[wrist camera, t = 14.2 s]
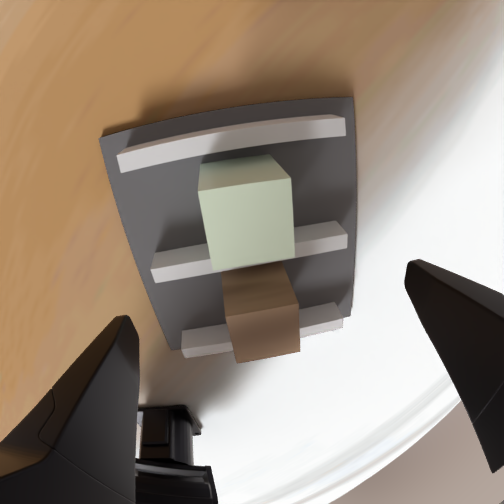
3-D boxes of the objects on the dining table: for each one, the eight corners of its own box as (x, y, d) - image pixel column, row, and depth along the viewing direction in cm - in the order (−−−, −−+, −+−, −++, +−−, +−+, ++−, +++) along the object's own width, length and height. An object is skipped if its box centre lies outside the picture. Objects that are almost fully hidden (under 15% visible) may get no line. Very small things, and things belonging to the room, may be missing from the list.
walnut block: (283, 302, 23) (300, 351, 19) (230, 312, 23) (236, 363, 18) (279, 256, 21) (298, 303, 17) (220, 266, 21) (225, 317, 16)
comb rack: (348, 312, 25) (359, 332, 23) (171, 346, 24) (170, 368, 22) (350, 96, 17) (368, 99, 14) (100, 137, 16) (86, 144, 14)
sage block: (274, 216, 19) (294, 257, 15) (211, 226, 19) (212, 270, 15) (269, 154, 17) (290, 178, 13) (200, 164, 17) (197, 191, 13)
